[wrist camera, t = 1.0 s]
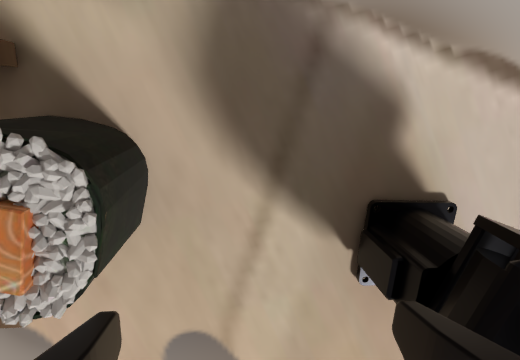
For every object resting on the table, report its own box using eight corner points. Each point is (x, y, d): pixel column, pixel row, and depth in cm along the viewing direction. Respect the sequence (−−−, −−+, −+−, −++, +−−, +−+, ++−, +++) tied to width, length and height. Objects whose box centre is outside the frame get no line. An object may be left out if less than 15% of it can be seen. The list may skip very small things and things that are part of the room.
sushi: (154, 128, 17) (98, 149, 10) (140, 252, 19) (84, 351, 12) (4, 99, 16) (-196, 98, 8) (5, 236, 18) (-157, 335, 10)
